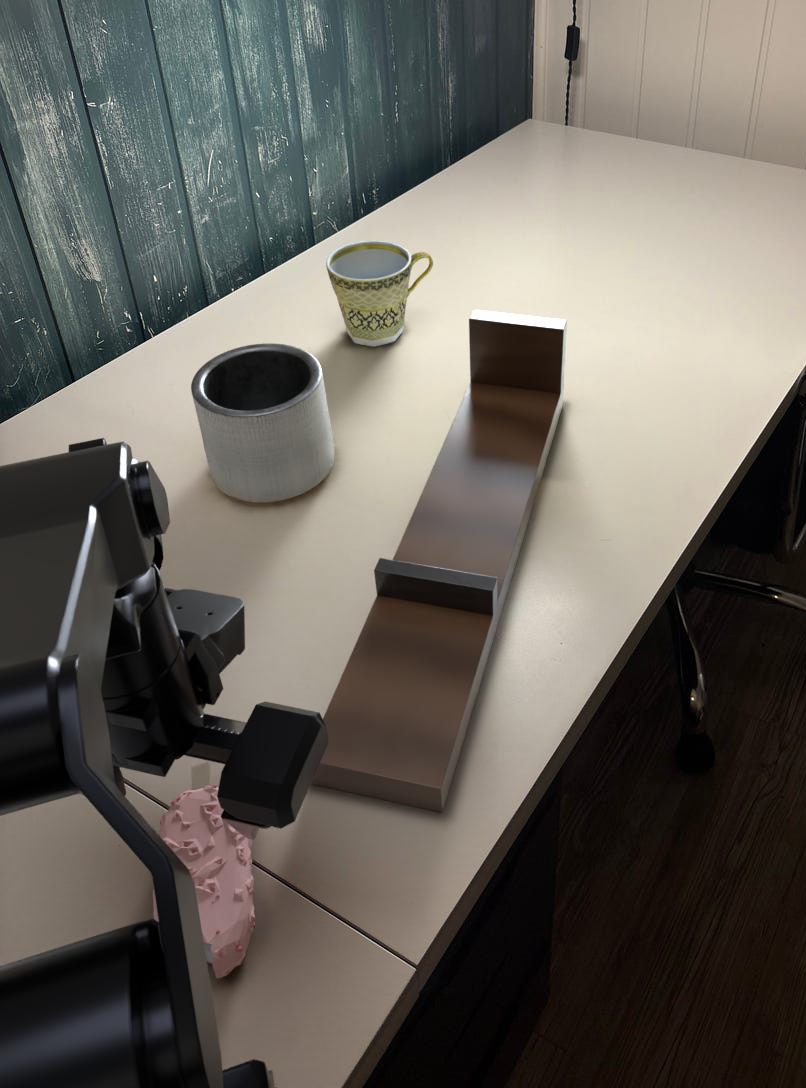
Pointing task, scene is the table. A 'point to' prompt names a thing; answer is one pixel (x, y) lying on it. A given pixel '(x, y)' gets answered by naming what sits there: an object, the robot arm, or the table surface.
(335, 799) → the table surface
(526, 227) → the table surface
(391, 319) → the ceramic cup
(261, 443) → the planter
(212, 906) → the ice cream bar
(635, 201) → the table surface
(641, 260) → the table surface
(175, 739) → the robot arm
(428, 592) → the shelf
